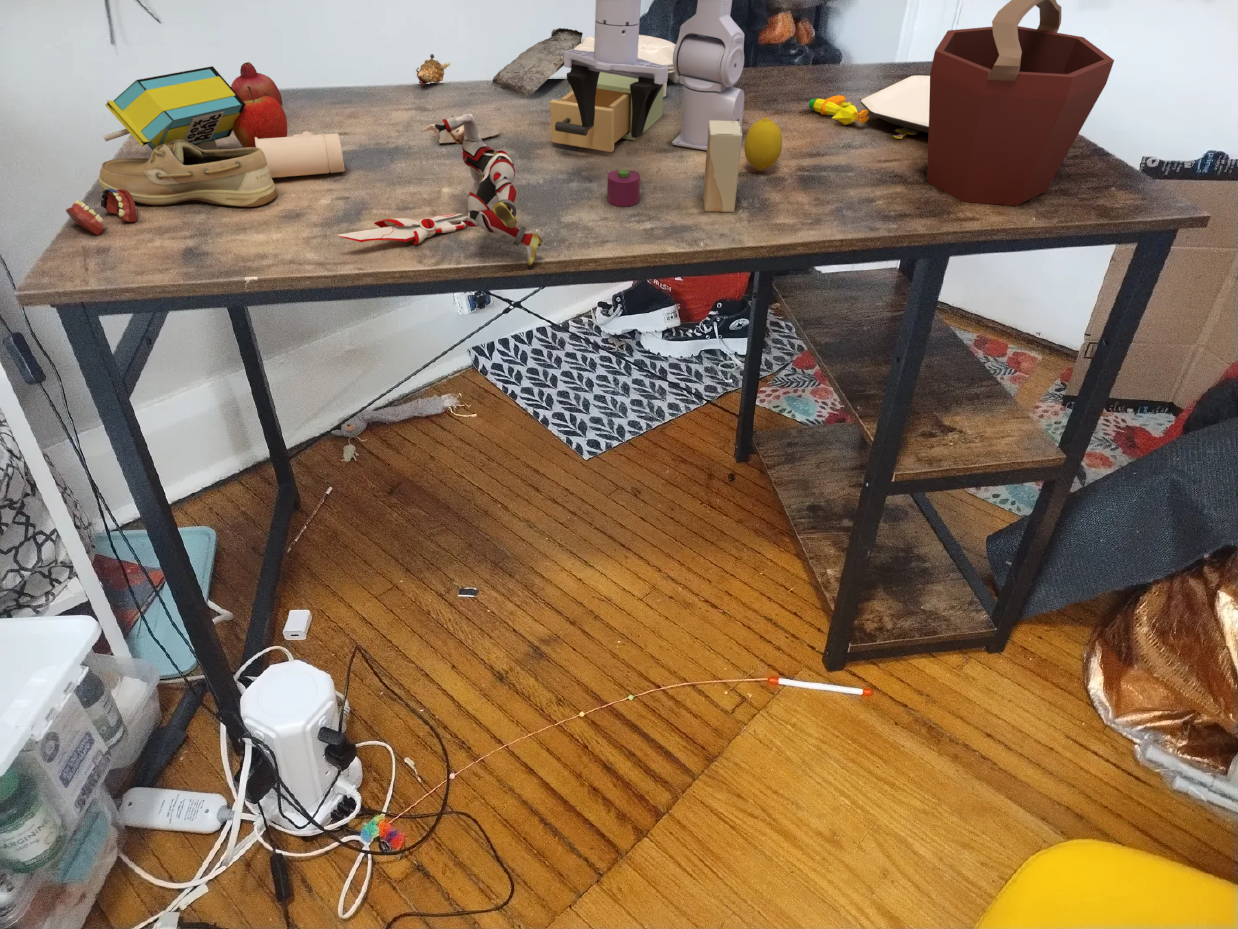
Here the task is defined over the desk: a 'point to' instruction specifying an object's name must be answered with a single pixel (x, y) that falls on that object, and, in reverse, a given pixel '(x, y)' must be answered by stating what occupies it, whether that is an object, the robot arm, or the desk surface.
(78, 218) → the dental model
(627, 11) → the robot arm
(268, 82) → the fruit
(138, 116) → the carton
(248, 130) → the apple
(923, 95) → the plate
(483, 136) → the arrowhead
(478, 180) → the anime character
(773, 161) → the lemon
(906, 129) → the decorative knife
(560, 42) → the stone
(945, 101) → the bucket
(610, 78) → the cabinet
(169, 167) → the boat shoe
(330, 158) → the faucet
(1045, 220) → the desk surface
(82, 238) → the desk surface
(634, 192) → the mangosteen
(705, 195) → the box
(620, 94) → the drawer
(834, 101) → the toy figure
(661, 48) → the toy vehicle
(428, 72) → the figurine
